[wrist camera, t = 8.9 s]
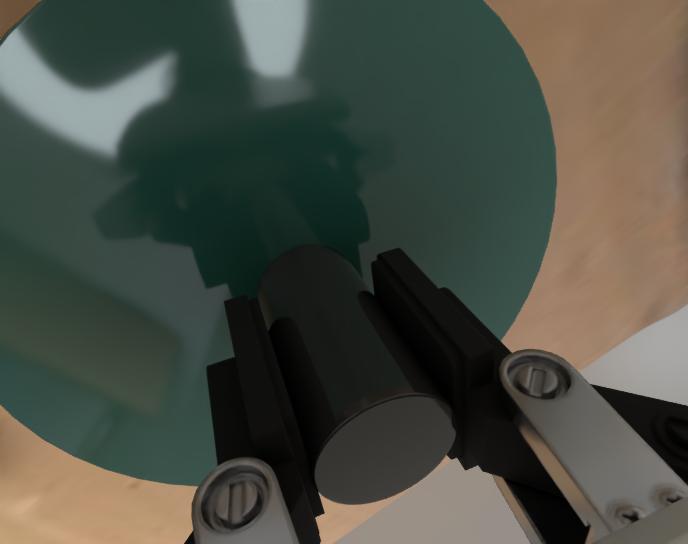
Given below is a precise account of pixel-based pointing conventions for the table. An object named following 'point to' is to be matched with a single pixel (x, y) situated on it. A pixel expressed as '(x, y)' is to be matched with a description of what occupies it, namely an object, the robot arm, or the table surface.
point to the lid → (257, 218)
